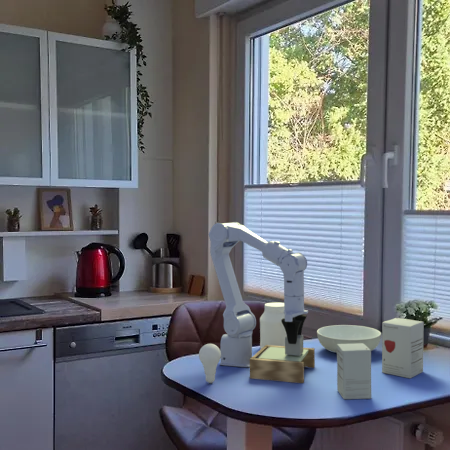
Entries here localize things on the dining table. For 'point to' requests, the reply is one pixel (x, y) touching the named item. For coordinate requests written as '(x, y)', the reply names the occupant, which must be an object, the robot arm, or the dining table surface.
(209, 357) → the lightbulb
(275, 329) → the jar
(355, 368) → the supplement box
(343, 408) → the dining table surface
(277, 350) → the hatch
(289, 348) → the gray block
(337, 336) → the serving bowl
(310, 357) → the hatch frame
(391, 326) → the supplement box
